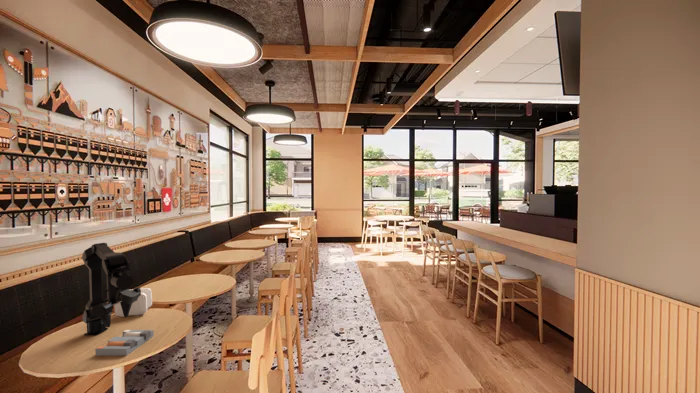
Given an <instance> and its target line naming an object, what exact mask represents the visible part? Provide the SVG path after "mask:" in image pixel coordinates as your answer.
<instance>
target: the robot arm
mask: <svg viewBox="0 0 700 393" xmlns="http://www.w3.org/2000/svg"><path fill="white" fill-rule="evenodd" d="M81 256H82V257H81V260H82V261H83V263H84V265H85V266H86V267H87V268H88V277H89V278H88V279H89V281H88V283H89V300H88V301H87V303H86V304H85V310H84V311H83V313H82V322H83V323H84V324H86V332H85V333H83V335H84V336H98V335H100V334H102V333H103V332H105V331H106V330H108V329H109V328H110V327H111V319H112V318H111V316H112V314H113V312H114V307H115V306H114V305H116V304H118V303H120V304H121V308H122V311H123V315H124V318H128V317H129V316H128V314H129V311H130V308H131V305H132V303H133V302H135V301H137V300H138V297H139V296H141V289H142V288H141V287H134V290H130V289H129V288H130V287H132V286H133V284H134V283H133V282H134V279H133V276H132V275H129V274H128V272H129V271H131V264H130V262H129V259H128V258H127V256H126V255H125V254H124V253H122V252H115V251H114V250H113V249H111V247H109V246H108V243H107V242H100V243H93V244H92V245H91V246H90V247H88V248H87V249H85V250H84V251H83V253H82V255H81ZM103 270H104V272H105V275H106V288H105V289H104V293H107V298H105V299H104V297H103V296H104V295H103Z"/></svg>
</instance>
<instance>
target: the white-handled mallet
mask: <svg viewBox="0 0 700 393" xmlns="http://www.w3.org/2000/svg"><path fill="white" fill-rule="evenodd" d="M143 330H144V331H143V332H126V333H125V334H124V337H144V340H147V339H148V338H149V337H151V334H150V330H151V329H143ZM151 338H152V337H151ZM147 341H148V340H147Z"/></svg>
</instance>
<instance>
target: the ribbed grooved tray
mask: <svg viewBox="0 0 700 393" xmlns="http://www.w3.org/2000/svg"><path fill="white" fill-rule="evenodd" d="M144 330H145V329H125V330H123V331H122V336H114V337H112V338H110V339H108V340H107V343H108V342H109V341H127V340H129V339H135V347H133V348H132V349H130V346H107V345H99V346H98V347H96V348H94V349H95V356H98V357H99V356H100V357H101V356H128V355H130V354H131V353H132V352H133V351H135V350H137V349H138V348H139V347H140V346H142V345H143V344H145V343H146V342H147V341H149V340H150V339H151V338H153V337H154V329H149V330H150V334H151V337H149V338H148V339H147V340H144V337H124V334H125V333H126V332H143V331H144Z"/></svg>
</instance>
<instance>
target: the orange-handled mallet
mask: <svg viewBox="0 0 700 393" xmlns="http://www.w3.org/2000/svg"><path fill="white" fill-rule="evenodd" d="M108 341H109V340H108ZM108 341H107V343H106V346H130V349H132V348H133V347H135V339H129V340H127V341H109V342H108Z"/></svg>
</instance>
